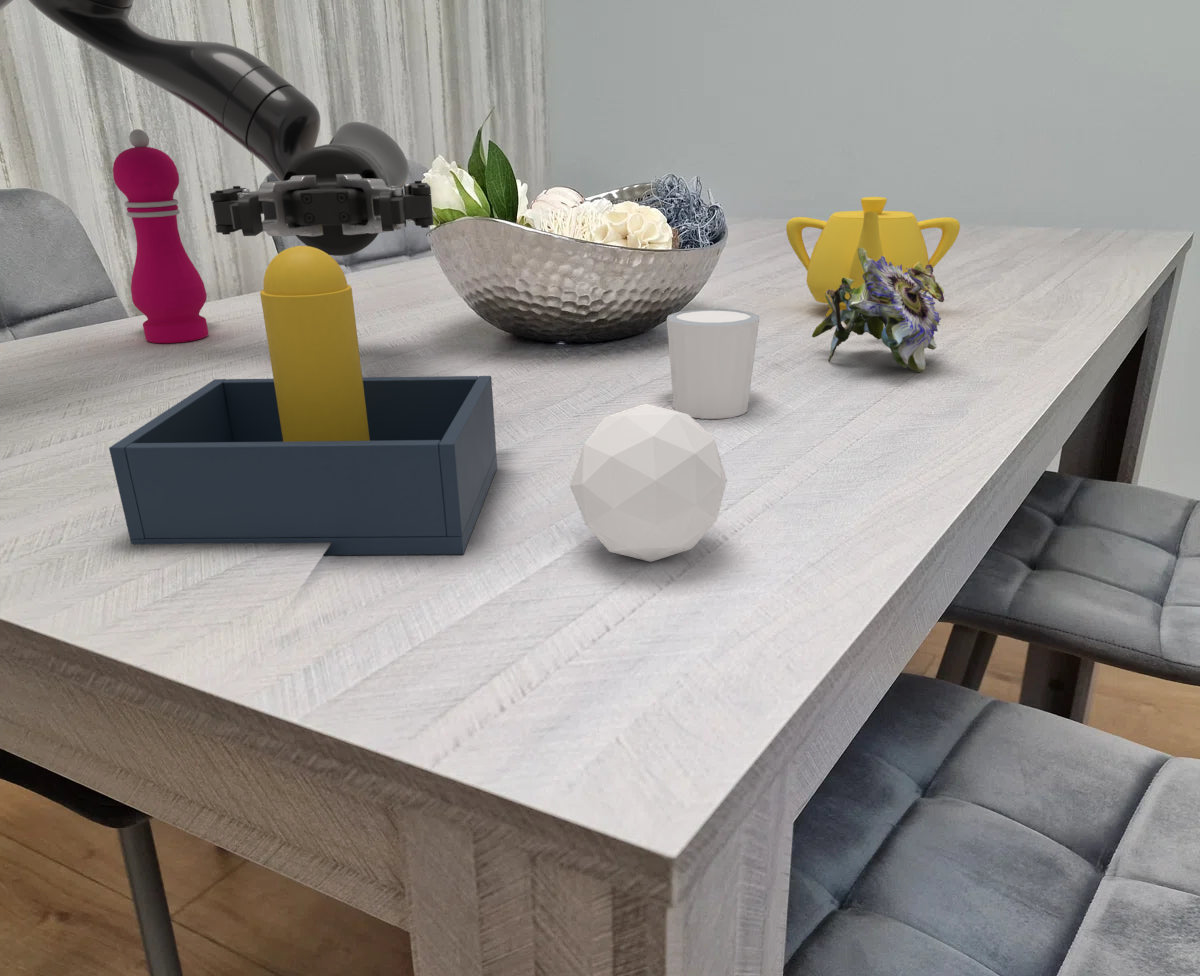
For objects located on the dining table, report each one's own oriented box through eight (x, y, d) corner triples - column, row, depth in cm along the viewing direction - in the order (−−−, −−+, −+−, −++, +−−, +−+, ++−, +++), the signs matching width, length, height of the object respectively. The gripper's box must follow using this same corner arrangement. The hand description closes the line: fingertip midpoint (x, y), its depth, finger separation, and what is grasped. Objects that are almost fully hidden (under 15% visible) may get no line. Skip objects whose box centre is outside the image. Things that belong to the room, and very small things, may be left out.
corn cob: (278, 505, 59) (237, 253, 53) (303, 477, 63) (268, 241, 58) (366, 505, 59) (334, 251, 53) (385, 476, 63) (358, 239, 57)
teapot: (770, 311, 116) (775, 198, 111) (862, 297, 123) (871, 190, 118) (861, 330, 106) (871, 205, 101) (956, 313, 113) (970, 196, 107)
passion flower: (907, 431, 92) (929, 336, 81) (789, 398, 95) (796, 303, 84) (944, 339, 96) (970, 238, 86) (830, 310, 99) (842, 209, 89)
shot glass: (679, 395, 83) (680, 305, 80) (764, 400, 81) (768, 309, 78) (654, 417, 78) (654, 322, 75) (745, 424, 75) (749, 326, 72)
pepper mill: (161, 347, 105) (117, 130, 96) (128, 339, 109) (83, 130, 101) (226, 336, 110) (190, 128, 101) (192, 328, 114) (155, 128, 106)
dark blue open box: (133, 556, 55) (108, 447, 53) (230, 469, 68) (214, 379, 66) (463, 554, 54) (454, 443, 52) (497, 467, 68) (491, 375, 65)
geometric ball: (666, 583, 57) (739, 456, 57) (683, 594, 49) (767, 446, 49) (545, 514, 57) (618, 386, 56) (543, 514, 49) (627, 364, 48)
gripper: (437, 246, 82) (436, 273, 67) (250, 252, 80) (208, 282, 65) (428, 141, 78) (426, 147, 64) (233, 146, 77) (185, 153, 62)
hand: (316, 215), depth 65 cm, fingers open, 8 cm apart
